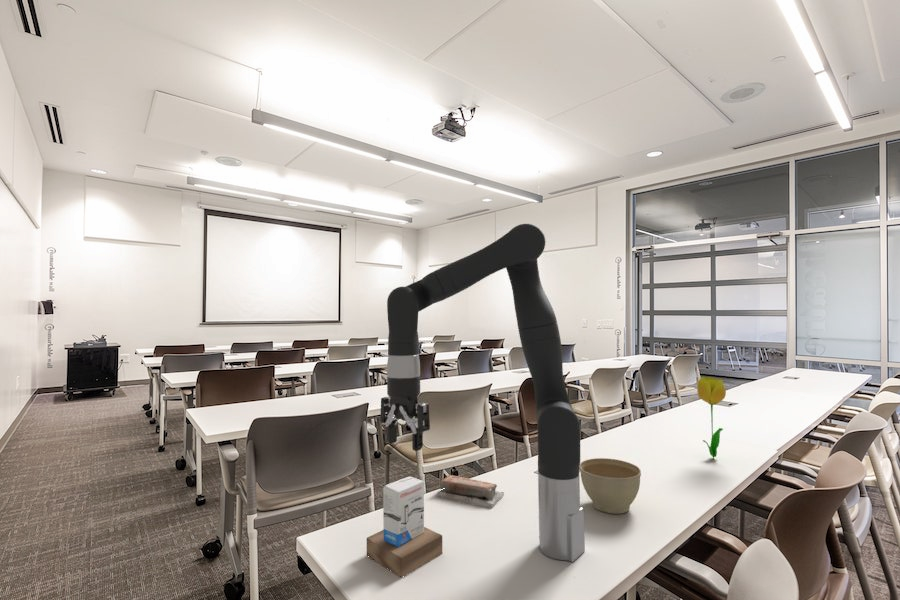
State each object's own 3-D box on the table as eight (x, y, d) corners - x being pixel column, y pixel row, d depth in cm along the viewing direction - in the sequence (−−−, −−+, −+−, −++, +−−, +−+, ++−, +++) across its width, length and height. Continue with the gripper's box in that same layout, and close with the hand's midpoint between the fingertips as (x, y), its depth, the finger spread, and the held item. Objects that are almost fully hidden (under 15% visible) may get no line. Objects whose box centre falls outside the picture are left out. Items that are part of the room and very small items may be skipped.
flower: (705, 461, 152) (702, 378, 154) (696, 454, 160) (693, 375, 162) (731, 463, 151) (728, 378, 152) (721, 455, 159) (718, 375, 160)
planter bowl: (612, 491, 128) (611, 454, 128) (655, 514, 113) (654, 472, 113) (568, 500, 122) (567, 461, 122) (607, 525, 107) (606, 481, 107)
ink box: (397, 548, 90) (397, 492, 90) (382, 540, 93) (382, 486, 94) (425, 532, 96) (425, 480, 97) (410, 525, 100) (409, 475, 100)
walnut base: (442, 553, 95) (442, 535, 95) (401, 578, 86) (401, 558, 86) (406, 535, 103) (406, 518, 103) (366, 556, 94) (366, 537, 94)
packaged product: (435, 481, 125) (450, 471, 134) (435, 498, 125) (451, 486, 134) (492, 492, 117) (504, 480, 126) (492, 510, 117) (504, 496, 126)
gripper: (437, 375, 94) (438, 448, 94) (396, 370, 104) (396, 437, 103) (412, 379, 89) (413, 457, 88) (371, 373, 98) (371, 444, 98)
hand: (404, 446), depth 96 cm, fingers open, 8 cm apart
